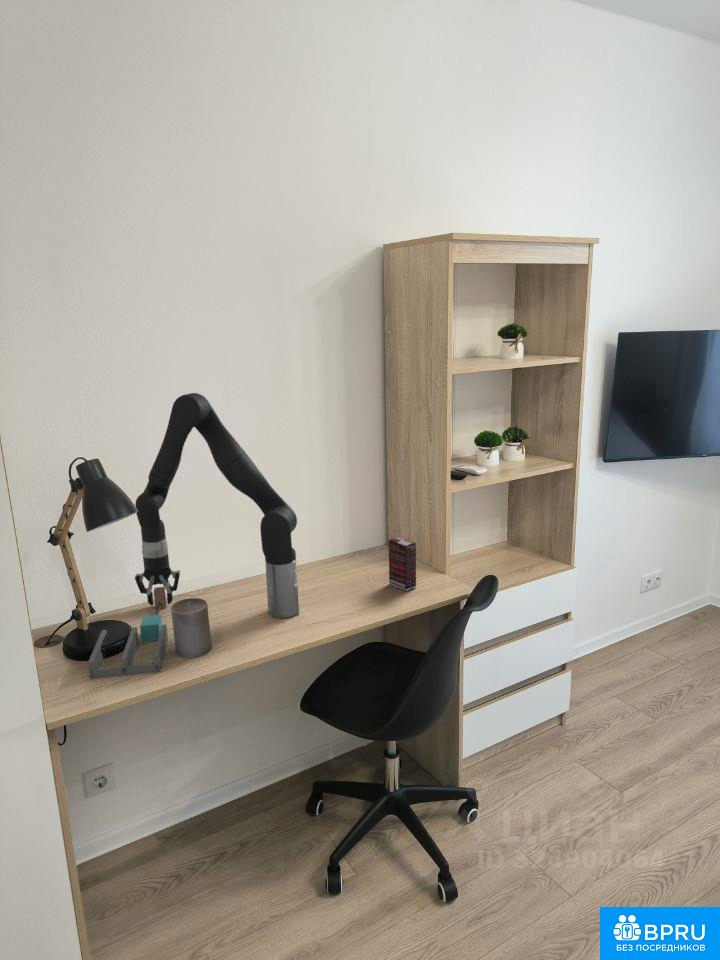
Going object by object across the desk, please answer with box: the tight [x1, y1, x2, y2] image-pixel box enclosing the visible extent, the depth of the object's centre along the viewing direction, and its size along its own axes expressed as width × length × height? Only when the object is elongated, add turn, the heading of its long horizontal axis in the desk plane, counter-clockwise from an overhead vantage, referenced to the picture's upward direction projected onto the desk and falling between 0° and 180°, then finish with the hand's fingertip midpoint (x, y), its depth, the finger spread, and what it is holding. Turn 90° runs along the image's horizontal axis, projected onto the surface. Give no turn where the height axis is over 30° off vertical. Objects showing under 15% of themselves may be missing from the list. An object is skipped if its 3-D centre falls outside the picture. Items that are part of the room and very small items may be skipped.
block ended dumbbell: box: [139, 586, 167, 643], centre depth 208 cm, size 5×24×6 cm, turn 9°
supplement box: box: [388, 536, 417, 592], centre depth 229 cm, size 9×5×16 cm, turn 40°
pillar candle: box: [170, 597, 213, 659], centre depth 189 cm, size 10×10×15 cm
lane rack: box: [87, 624, 169, 680], centre depth 187 cm, size 17×18×5 cm
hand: (160, 603), depth 218 cm, fingers open, 4 cm apart
